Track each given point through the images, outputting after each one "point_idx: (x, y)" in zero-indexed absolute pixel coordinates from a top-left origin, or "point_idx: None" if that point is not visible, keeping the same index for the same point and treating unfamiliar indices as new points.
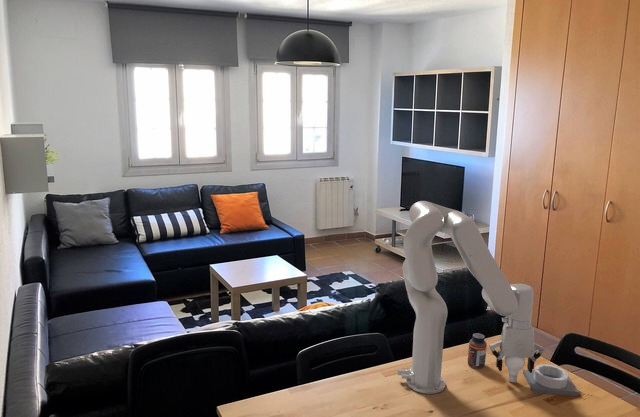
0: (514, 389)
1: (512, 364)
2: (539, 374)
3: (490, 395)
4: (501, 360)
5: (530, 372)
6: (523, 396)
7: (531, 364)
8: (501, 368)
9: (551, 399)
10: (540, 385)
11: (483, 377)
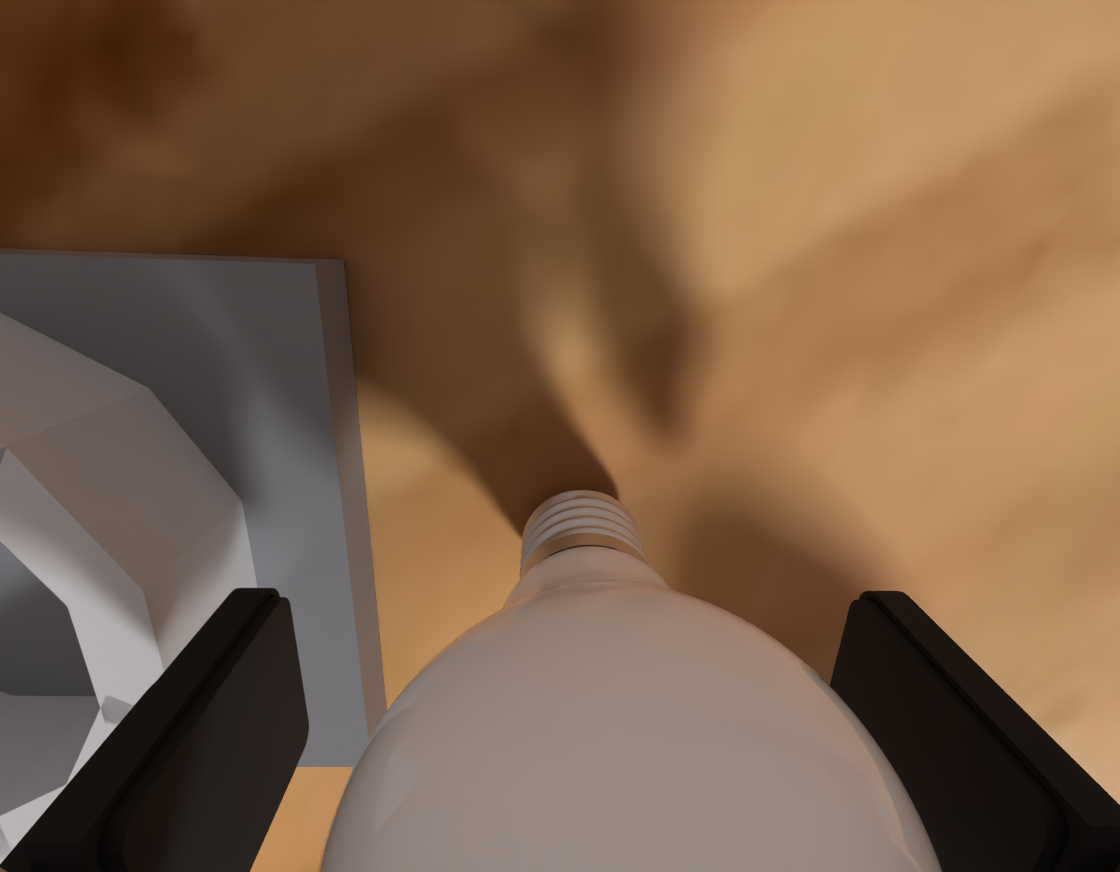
0: (610, 336)
1: (786, 677)
2: (83, 541)
3: (1074, 106)
4: (1107, 830)
5: (269, 589)
6: (527, 128)
7: (135, 755)
8: (909, 628)
9: (60, 70)
10: (177, 384)
11: (926, 592)
